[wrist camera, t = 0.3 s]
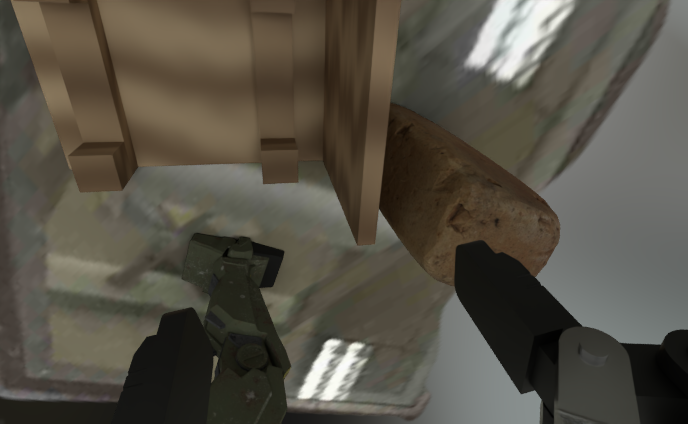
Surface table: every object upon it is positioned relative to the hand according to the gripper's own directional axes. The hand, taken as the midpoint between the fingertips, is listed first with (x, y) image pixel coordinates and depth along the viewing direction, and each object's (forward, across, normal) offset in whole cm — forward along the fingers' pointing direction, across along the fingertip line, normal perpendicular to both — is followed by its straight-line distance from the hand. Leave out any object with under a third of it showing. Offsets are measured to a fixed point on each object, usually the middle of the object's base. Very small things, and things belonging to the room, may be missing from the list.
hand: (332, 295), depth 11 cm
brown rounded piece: (+27, -11, +8) cm, 30 cm away
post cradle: (+27, +7, -3) cm, 28 cm away
